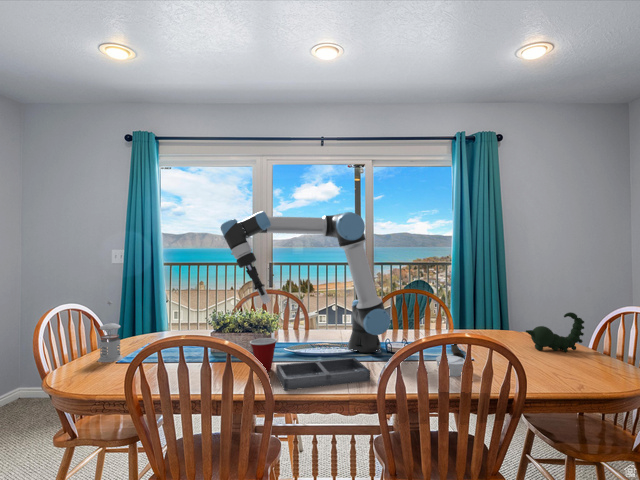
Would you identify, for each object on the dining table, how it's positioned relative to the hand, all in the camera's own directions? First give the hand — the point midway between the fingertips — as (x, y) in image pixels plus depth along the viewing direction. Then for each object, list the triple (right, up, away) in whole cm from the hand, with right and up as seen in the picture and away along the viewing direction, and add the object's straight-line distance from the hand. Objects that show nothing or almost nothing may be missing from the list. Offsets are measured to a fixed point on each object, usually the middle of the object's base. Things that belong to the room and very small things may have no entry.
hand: (267, 302), depth 167 cm
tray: (+22, -26, -12) cm, 36 cm away
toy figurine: (+129, -26, +24) cm, 134 cm away
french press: (-70, -26, +12) cm, 76 cm away
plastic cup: (-1, -27, -3) cm, 27 cm away
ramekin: (+72, -27, -6) cm, 77 cm away
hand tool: (+81, -26, +17) cm, 87 cm away
